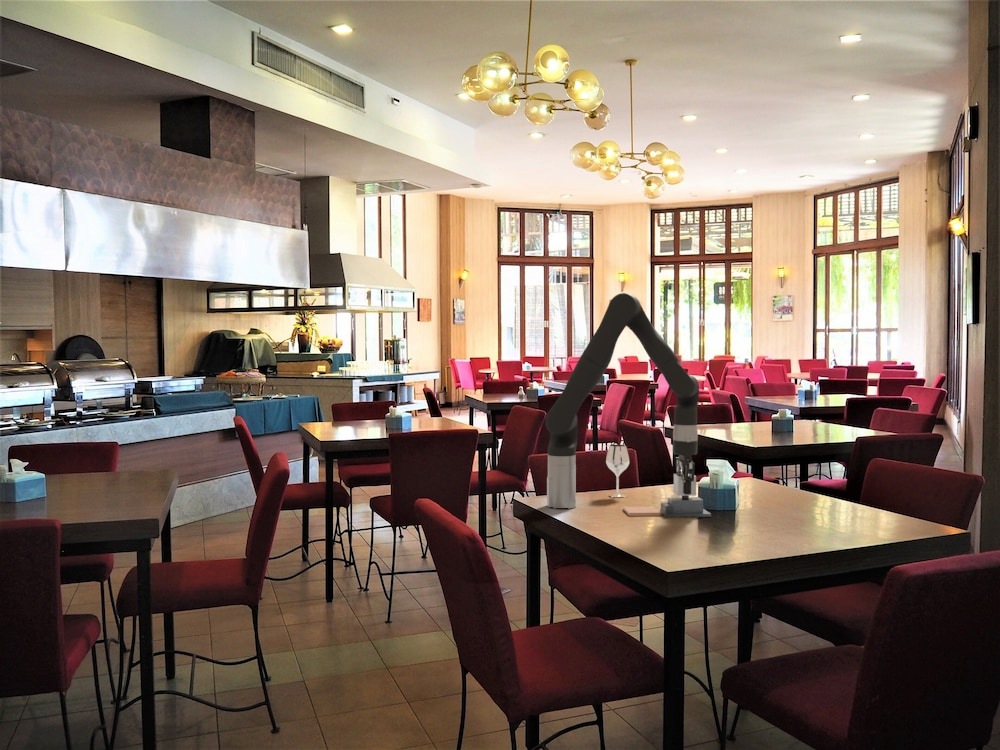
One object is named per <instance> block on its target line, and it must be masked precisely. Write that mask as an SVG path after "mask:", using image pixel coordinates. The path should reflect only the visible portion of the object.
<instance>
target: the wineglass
mask: <svg viewBox="0 0 1000 750" xmlns="http://www.w3.org/2000/svg"><path fill="white" fill-rule="evenodd" d="M605 458H606V459H605V463H606V466H607V467H608V469H609V470H611V472H613V474H614V475H615V476H616V493H613V496H611V497H610V498H613V497H624V498H627V497H628V496H627V495H626V494H623V493H622V494H621V493H620V489H619V487H620V484H619V483H620V478H619V477H620V475H621V474H622V473H623V472H624V471H625V470H627V469H628V467H629V465H630V456H629V453H628V448H627V445H626V444H609V446H608V449H607V453H606V457H605ZM626 496H627V497H626Z"/></svg>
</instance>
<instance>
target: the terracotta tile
mask: <svg viewBox="0 0 1000 750" xmlns="http://www.w3.org/2000/svg"><path fill="white" fill-rule="evenodd" d="M623 510H624V511H625V512H626V513H627V514H628V515H629V516H628V515H627V514H626V515H627V516H628V517H658V516H659V517H660V516H661V515H662V514H661V512H660V510H659V509H657V508H656V507H655V506H622V511H623ZM624 511H623V512H624ZM625 512H624V513H625Z"/></svg>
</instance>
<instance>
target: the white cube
mask: <svg viewBox="0 0 1000 750" xmlns="http://www.w3.org/2000/svg"><path fill="white" fill-rule="evenodd" d="M688 477H690V476H689V475H688ZM673 493H674V494H675V495H676V496H678V497H679V496H681V497H682V496H689V497H690V496H691V497H692V496H693V497H694V496H695V497H697V476H696V475H695V474H694V481H692V482H691V494H690V495H685V494H684V481H683V475H682V474H676V473H673Z"/></svg>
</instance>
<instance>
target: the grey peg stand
mask: <svg viewBox="0 0 1000 750" xmlns="http://www.w3.org/2000/svg"><path fill="white" fill-rule="evenodd" d="M659 511H660V512H661V515H663V517H665V518H711V517H712V513H711V512H709V511H707V510H706V509H705V508H704V499H702V498H701V497H699V496H695V497H694V496H693V497H692V496H691V497H690V496H681V497H667V501H666V502H665V501H662V502H661V501H660V510H659Z"/></svg>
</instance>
